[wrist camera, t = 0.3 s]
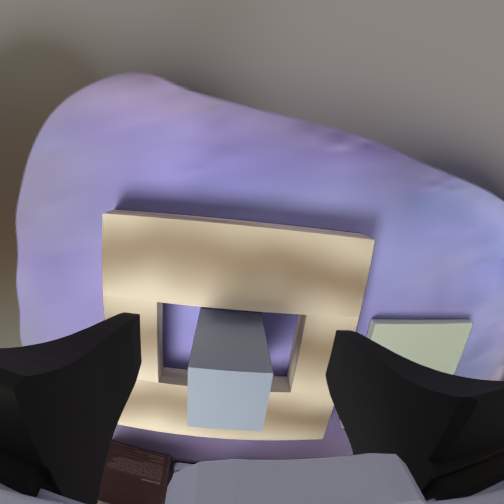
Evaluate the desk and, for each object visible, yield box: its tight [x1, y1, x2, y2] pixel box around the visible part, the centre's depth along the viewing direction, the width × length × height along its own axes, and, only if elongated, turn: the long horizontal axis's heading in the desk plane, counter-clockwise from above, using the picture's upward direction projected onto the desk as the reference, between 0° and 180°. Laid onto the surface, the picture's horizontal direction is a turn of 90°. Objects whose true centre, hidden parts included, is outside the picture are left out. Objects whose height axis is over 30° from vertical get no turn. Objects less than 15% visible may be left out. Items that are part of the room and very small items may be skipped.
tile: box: [339, 319, 473, 428], centre depth 23 cm, size 10×10×1 cm
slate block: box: [187, 308, 273, 431], centre depth 18 cm, size 4×4×7 cm
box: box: [97, 441, 171, 504], centre depth 21 cm, size 6×6×7 cm
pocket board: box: [102, 209, 375, 440], centre depth 21 cm, size 16×16×2 cm
